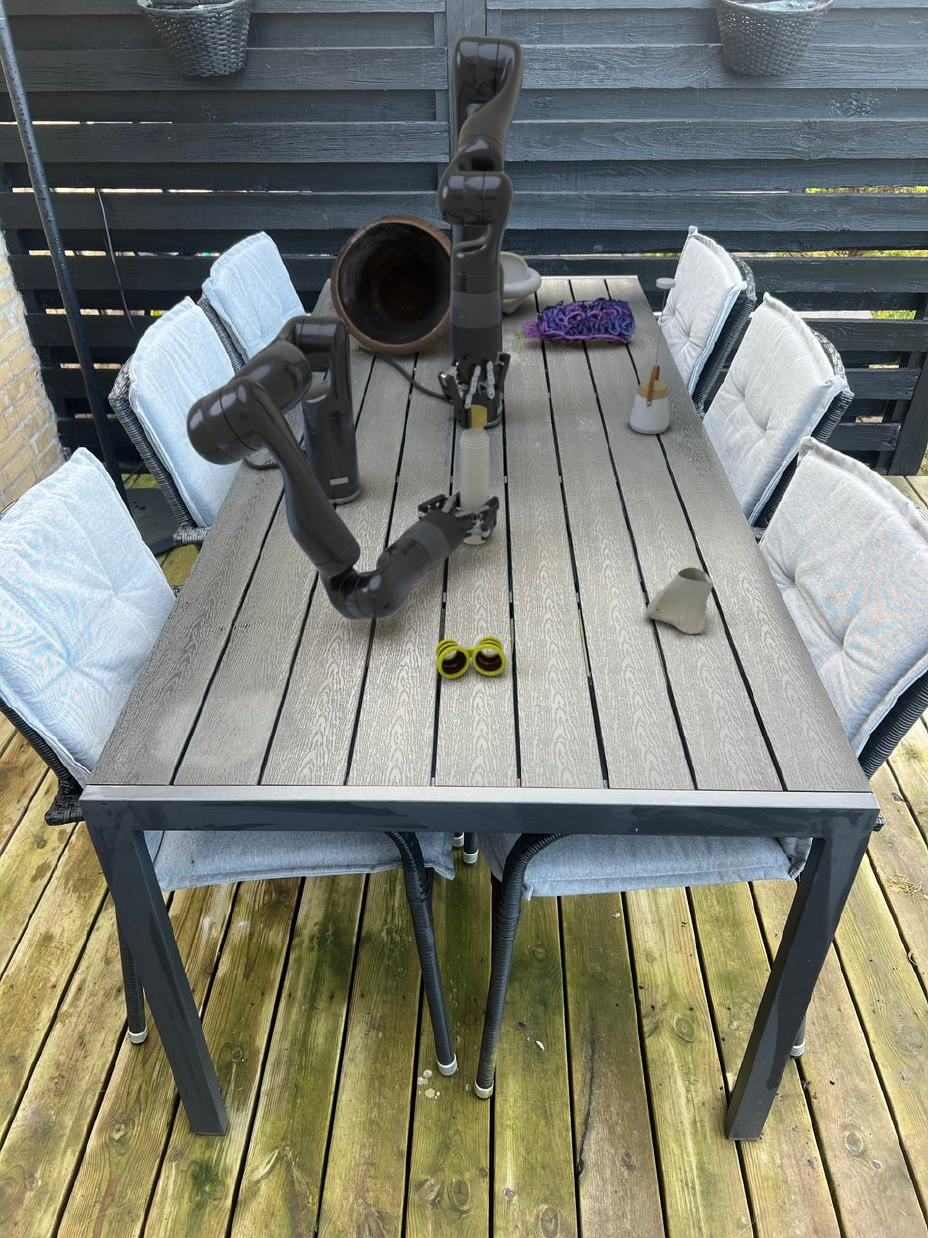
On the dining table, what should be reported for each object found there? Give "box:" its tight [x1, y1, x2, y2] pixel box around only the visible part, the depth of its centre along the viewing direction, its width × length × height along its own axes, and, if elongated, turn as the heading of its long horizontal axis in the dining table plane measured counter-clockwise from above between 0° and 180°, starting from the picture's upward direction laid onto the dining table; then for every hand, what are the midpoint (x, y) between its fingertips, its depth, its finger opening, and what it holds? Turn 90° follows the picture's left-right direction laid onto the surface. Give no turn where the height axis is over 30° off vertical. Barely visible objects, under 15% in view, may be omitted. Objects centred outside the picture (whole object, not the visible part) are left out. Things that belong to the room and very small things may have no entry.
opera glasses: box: [435, 635, 507, 679], centre depth 132 cm, size 10×5×5 cm, turn 95°
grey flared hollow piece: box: [645, 566, 715, 635], centre depth 139 cm, size 9×8×10 cm
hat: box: [500, 251, 543, 314], centre depth 248 cm, size 25×22×15 cm
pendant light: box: [628, 277, 677, 435], centre depth 186 cm, size 8×8×30 cm
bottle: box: [458, 427, 491, 546], centre depth 155 cm, size 5×5×23 cm
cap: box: [470, 405, 487, 428], centre depth 148 cm, size 4×4×2 cm
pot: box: [329, 213, 451, 356], centre depth 230 cm, size 32×32×30 cm
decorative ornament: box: [513, 296, 636, 345], centre depth 229 cm, size 13×11×30 cm
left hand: (482, 496), depth 159 cm, fingers closed on bottle, 5 cm apart
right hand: (474, 422), depth 148 cm, fingers closed on cap, 3 cm apart
